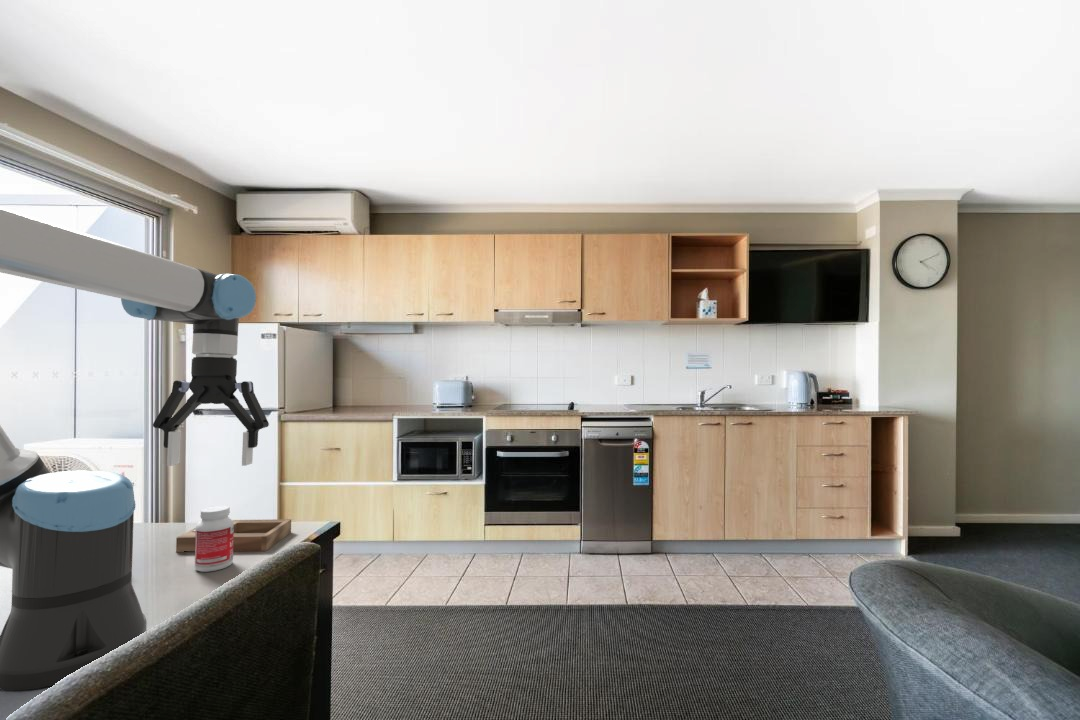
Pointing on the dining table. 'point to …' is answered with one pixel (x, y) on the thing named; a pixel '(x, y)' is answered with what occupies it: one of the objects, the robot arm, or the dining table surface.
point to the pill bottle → (214, 539)
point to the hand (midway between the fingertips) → (210, 464)
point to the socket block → (245, 535)
